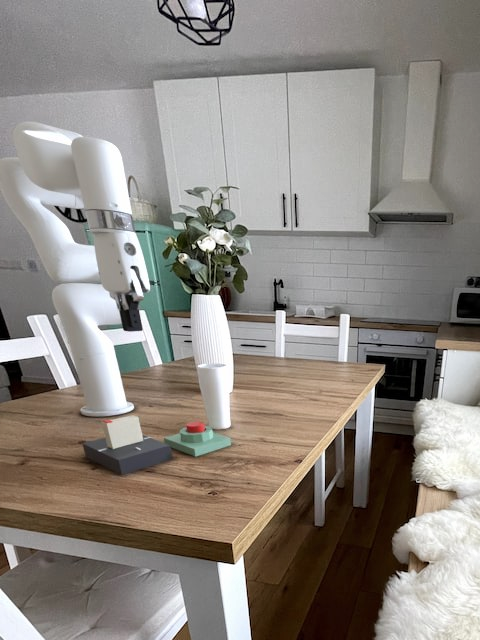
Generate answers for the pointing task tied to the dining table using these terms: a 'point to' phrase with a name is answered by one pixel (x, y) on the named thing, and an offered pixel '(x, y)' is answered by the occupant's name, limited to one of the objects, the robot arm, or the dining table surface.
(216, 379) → the drinking glass
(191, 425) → the button
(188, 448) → the button box
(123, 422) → the knob
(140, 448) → the panel
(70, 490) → the dining table surface
